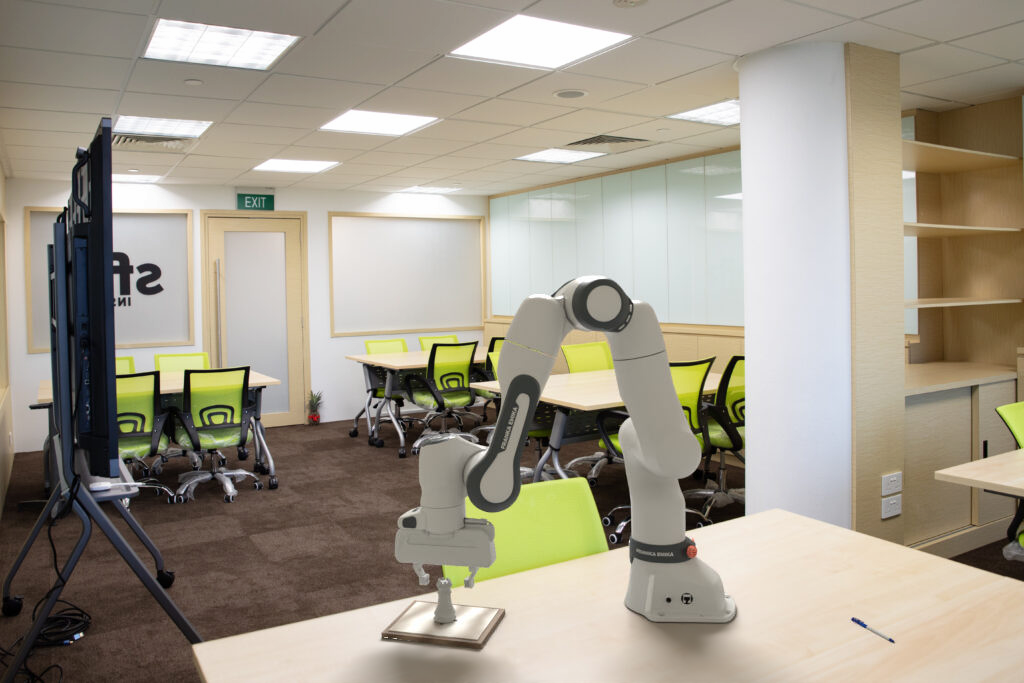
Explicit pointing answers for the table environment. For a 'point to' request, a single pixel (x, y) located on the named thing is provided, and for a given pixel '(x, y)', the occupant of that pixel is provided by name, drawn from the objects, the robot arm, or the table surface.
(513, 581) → the table surface
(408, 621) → the brown-bordered mat
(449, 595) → the rook chess piece
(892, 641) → the ballpoint pen
